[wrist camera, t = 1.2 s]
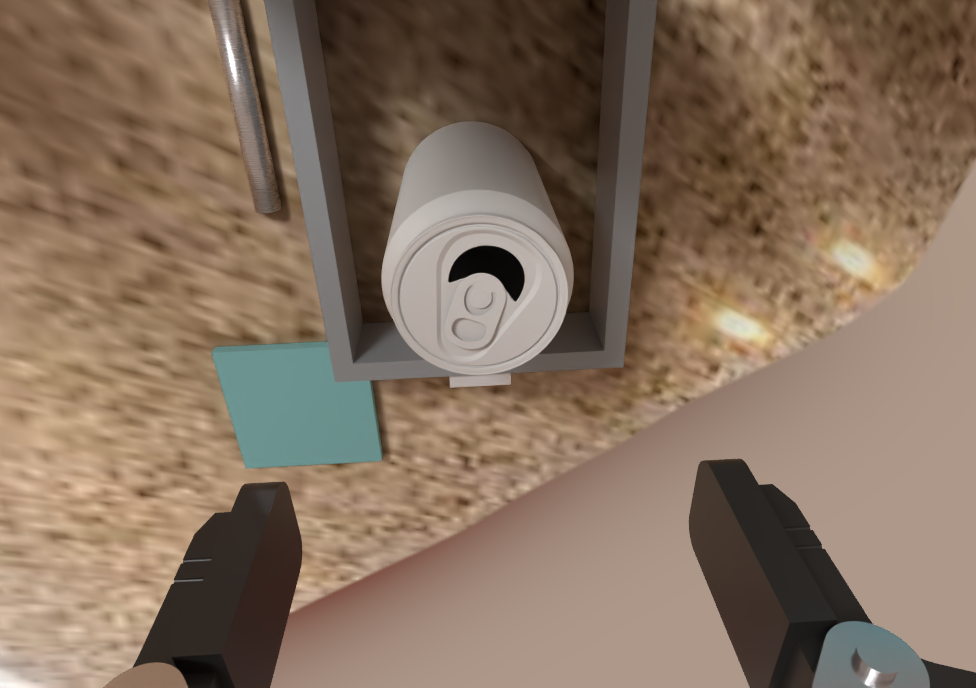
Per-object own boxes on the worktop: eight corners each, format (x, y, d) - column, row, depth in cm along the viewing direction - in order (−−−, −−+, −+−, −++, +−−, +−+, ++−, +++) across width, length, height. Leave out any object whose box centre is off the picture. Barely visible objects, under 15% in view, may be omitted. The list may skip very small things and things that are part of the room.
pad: (215, 347, 34) (211, 352, 33) (365, 339, 34) (364, 345, 34) (248, 461, 38) (245, 468, 38) (382, 454, 38) (381, 461, 38)
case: (280, -56, 25) (253, -60, 22) (635, -69, 25) (664, -74, 22) (349, 353, 35) (337, 395, 31) (605, 339, 35) (622, 380, 31)
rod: (244, -11, 26) (218, -10, 26) (224, -9, 25) (199, -9, 25) (286, 205, 30) (265, 204, 31) (272, 214, 29) (250, 212, 30)
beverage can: (558, 143, 29) (614, 239, 19) (510, 265, 32) (537, 405, 22) (424, 97, 28) (408, 173, 18) (387, 228, 31) (355, 359, 21)
